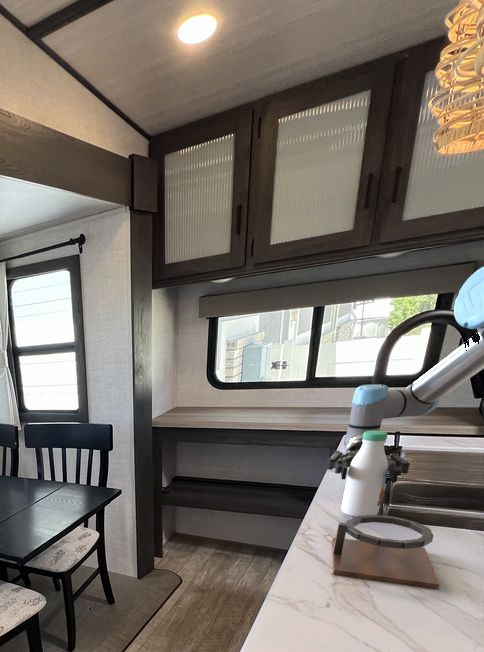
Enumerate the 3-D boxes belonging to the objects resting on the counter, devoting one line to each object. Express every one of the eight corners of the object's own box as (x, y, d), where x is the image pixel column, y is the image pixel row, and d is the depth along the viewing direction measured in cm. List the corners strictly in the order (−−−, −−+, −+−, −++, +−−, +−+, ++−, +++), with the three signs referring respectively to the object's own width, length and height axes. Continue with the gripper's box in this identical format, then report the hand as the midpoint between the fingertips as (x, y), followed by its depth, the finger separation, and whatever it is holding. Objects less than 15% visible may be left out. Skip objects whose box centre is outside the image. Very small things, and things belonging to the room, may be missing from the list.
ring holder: (423, 551, 95) (433, 517, 92) (438, 589, 83) (450, 551, 80) (331, 541, 103) (338, 509, 100) (333, 574, 90) (340, 538, 87)
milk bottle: (370, 520, 111) (388, 437, 103) (335, 513, 117) (349, 433, 109) (383, 511, 115) (402, 430, 107) (348, 504, 121) (364, 427, 113)
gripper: (410, 466, 122) (424, 494, 104) (314, 462, 132) (312, 486, 114) (417, 438, 119) (433, 461, 101) (318, 436, 129) (317, 457, 111)
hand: (369, 475), depth 108 cm, fingers open, 9 cm apart
